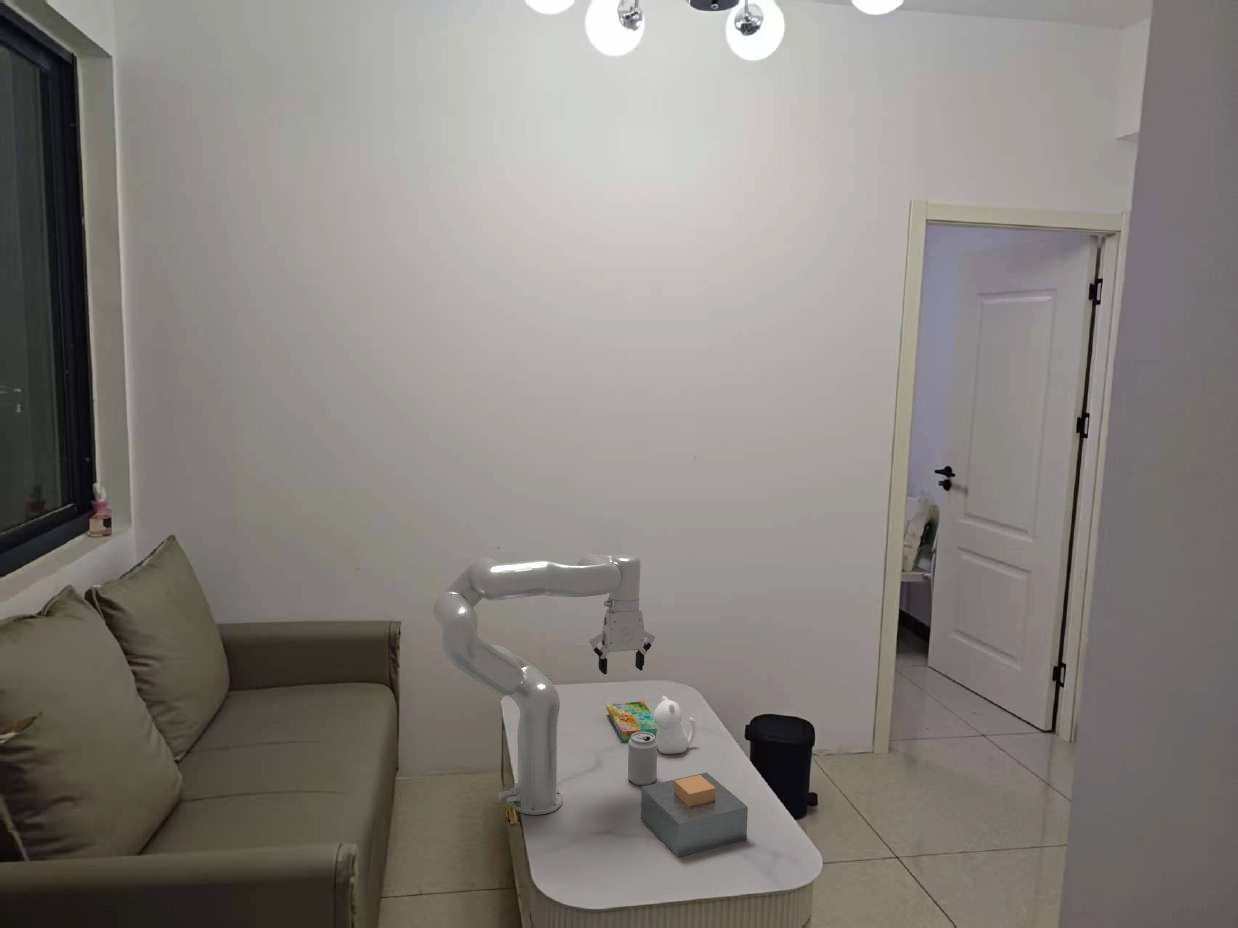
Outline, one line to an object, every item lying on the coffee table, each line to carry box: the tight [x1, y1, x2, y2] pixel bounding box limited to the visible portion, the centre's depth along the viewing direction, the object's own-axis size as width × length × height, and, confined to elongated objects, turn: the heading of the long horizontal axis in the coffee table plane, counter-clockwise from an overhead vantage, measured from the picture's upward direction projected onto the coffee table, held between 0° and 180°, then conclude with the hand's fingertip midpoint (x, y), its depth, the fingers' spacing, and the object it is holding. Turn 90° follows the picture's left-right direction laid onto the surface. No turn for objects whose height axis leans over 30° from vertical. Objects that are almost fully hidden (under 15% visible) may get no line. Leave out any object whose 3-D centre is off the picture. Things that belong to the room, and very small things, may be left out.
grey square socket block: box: [640, 772, 749, 859], centre depth 207 cm, size 18×18×8 cm
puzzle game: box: [605, 700, 659, 742], centre depth 263 cm, size 12×5×20 cm
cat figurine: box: [652, 695, 697, 755], centre depth 248 cm, size 9×12×15 cm
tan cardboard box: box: [673, 774, 716, 806], centre depth 207 cm, size 7×7×9 cm
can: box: [627, 732, 658, 786], centre depth 230 cm, size 8×8×12 cm
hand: (621, 670), depth 223 cm, fingers open, 9 cm apart
